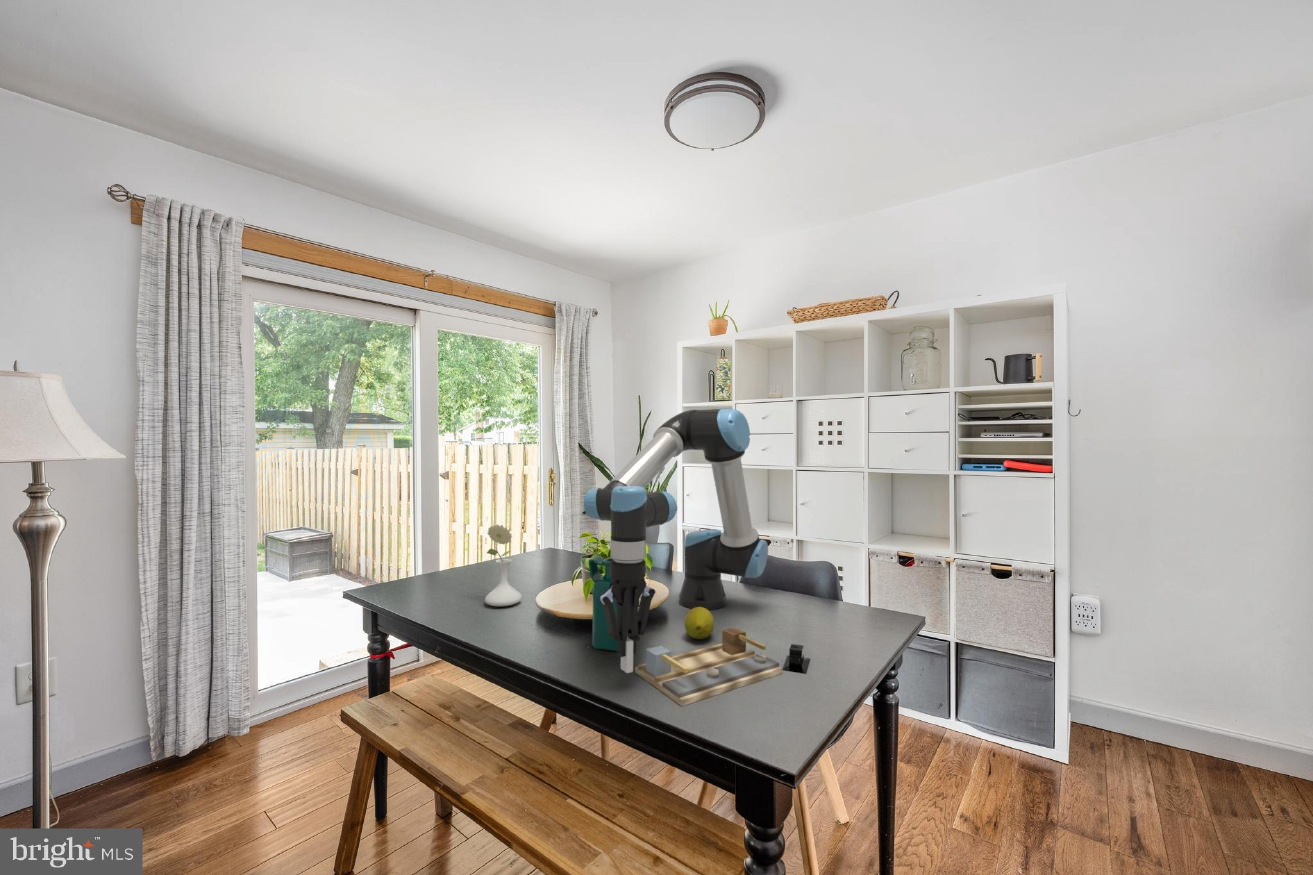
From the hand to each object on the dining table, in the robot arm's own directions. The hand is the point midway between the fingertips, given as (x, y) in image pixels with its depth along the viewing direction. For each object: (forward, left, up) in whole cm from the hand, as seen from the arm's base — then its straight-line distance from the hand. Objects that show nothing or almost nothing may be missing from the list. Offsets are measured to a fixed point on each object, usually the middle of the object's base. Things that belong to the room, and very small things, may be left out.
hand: (626, 669), depth 115 cm
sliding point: (-8, +4, -2) cm, 9 cm away
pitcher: (-8, -23, -4) cm, 25 cm away
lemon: (-30, -14, -4) cm, 34 cm away
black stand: (-40, +11, -4) cm, 41 cm away
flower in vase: (+5, -71, -4) cm, 71 cm away
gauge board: (-19, +4, -4) cm, 20 cm away
